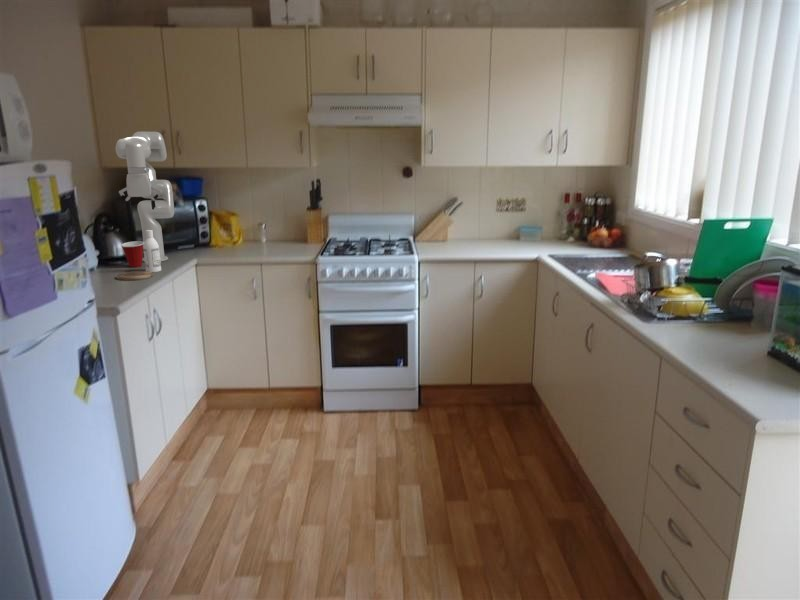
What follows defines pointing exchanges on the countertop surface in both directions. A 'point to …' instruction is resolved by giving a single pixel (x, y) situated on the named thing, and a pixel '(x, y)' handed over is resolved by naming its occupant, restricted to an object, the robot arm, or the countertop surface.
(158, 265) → the bath foam
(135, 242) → the plastic cup
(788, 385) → the countertop surface
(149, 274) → the coaster
